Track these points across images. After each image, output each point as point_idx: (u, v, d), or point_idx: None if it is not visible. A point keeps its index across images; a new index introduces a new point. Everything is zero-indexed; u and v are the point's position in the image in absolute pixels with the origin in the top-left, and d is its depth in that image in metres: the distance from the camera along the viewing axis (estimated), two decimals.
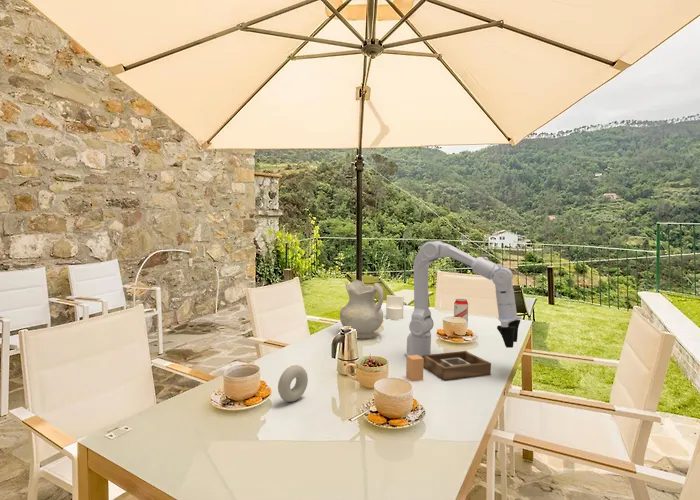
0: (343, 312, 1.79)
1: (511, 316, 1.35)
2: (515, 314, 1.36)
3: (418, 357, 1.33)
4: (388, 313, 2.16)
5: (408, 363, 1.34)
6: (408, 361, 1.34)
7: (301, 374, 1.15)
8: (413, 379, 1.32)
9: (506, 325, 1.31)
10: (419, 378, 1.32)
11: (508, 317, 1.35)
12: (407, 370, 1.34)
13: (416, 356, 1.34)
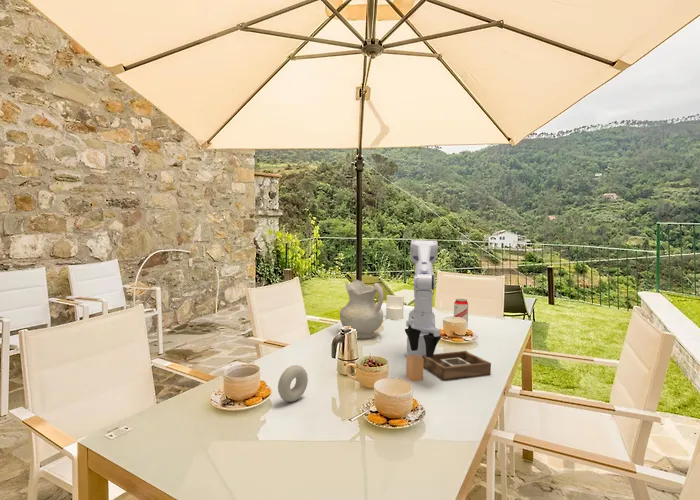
0: (343, 312, 1.79)
1: None
2: (414, 322, 1.31)
3: (418, 357, 1.33)
4: (388, 313, 2.16)
5: (407, 363, 1.34)
6: (408, 361, 1.34)
7: (301, 374, 1.15)
8: (413, 379, 1.32)
9: None
10: (419, 378, 1.32)
11: None
12: (407, 370, 1.34)
13: (416, 356, 1.34)
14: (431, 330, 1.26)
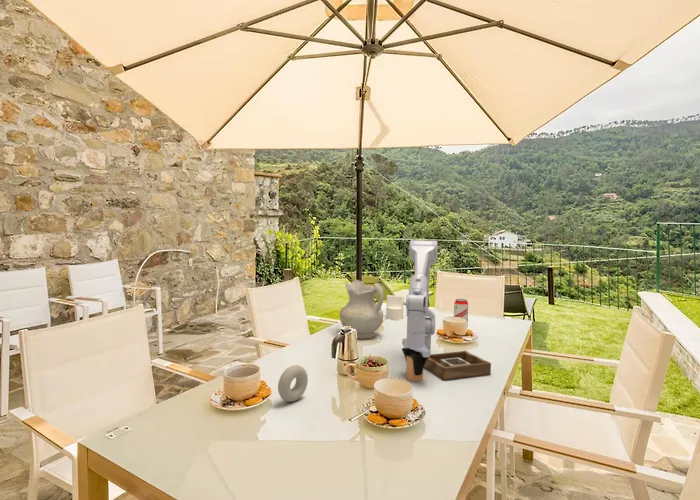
0: (343, 312, 1.79)
1: None
2: (406, 341, 1.33)
3: None
4: (388, 313, 2.16)
5: (408, 363, 1.34)
6: (408, 361, 1.34)
7: (301, 374, 1.15)
8: (413, 379, 1.32)
9: None
10: (419, 378, 1.32)
11: None
12: (407, 370, 1.34)
13: None
14: (420, 350, 1.28)
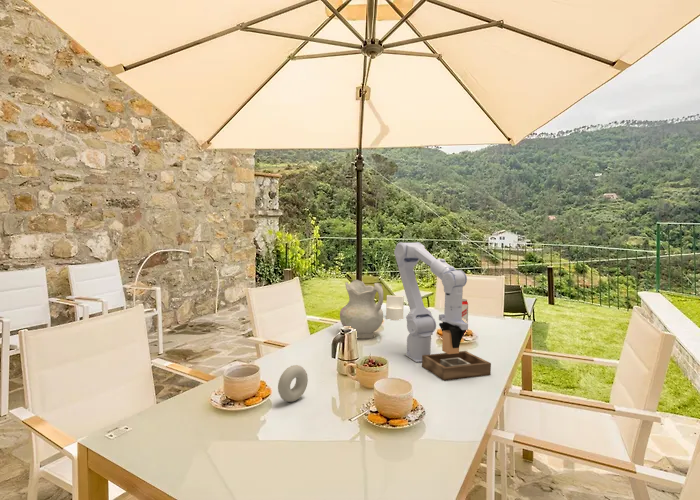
0: (343, 312, 1.79)
1: None
2: (444, 316, 1.40)
3: None
4: (388, 313, 2.16)
5: (444, 337, 1.40)
6: (444, 335, 1.40)
7: (301, 374, 1.15)
8: (450, 352, 1.38)
9: None
10: (455, 351, 1.39)
11: None
12: (443, 344, 1.40)
13: None
14: (459, 324, 1.34)
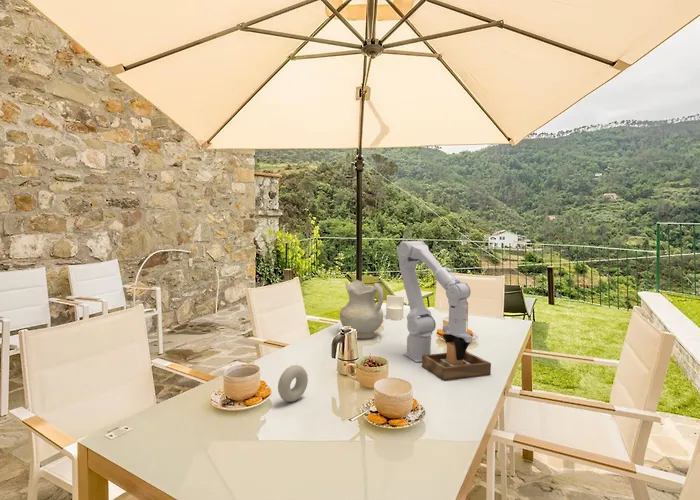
0: (343, 312, 1.79)
1: None
2: (448, 328, 1.41)
3: None
4: (388, 313, 2.16)
5: (448, 349, 1.41)
6: (449, 347, 1.41)
7: (301, 374, 1.15)
8: (454, 364, 1.39)
9: None
10: (459, 363, 1.40)
11: None
12: (448, 356, 1.42)
13: None
14: (463, 336, 1.35)
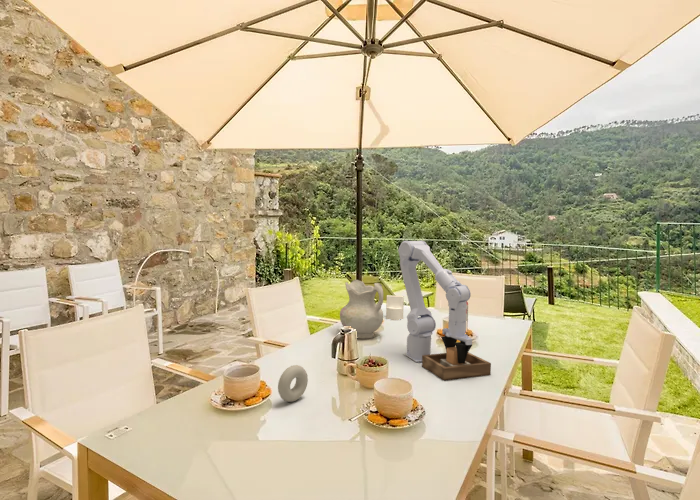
0: (343, 312, 1.79)
1: None
2: (448, 330, 1.41)
3: None
4: (388, 313, 2.16)
5: (448, 354, 1.41)
6: (448, 352, 1.41)
7: (301, 374, 1.15)
8: None
9: None
10: None
11: None
12: (447, 361, 1.42)
13: (456, 348, 1.42)
14: (463, 339, 1.35)
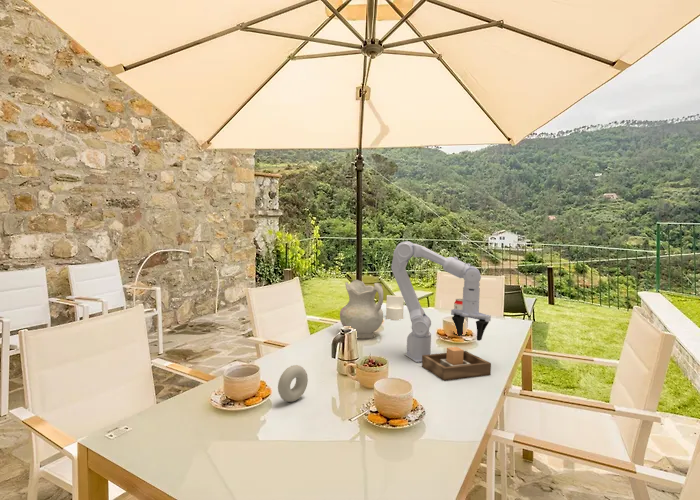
0: (343, 312, 1.79)
1: (462, 310, 1.49)
2: (464, 310, 1.47)
3: (458, 349, 1.41)
4: (388, 313, 2.16)
5: (448, 354, 1.41)
6: (448, 352, 1.41)
7: (301, 374, 1.15)
8: None
9: None
10: None
11: None
12: (447, 361, 1.42)
13: (456, 348, 1.42)
14: (483, 316, 1.44)
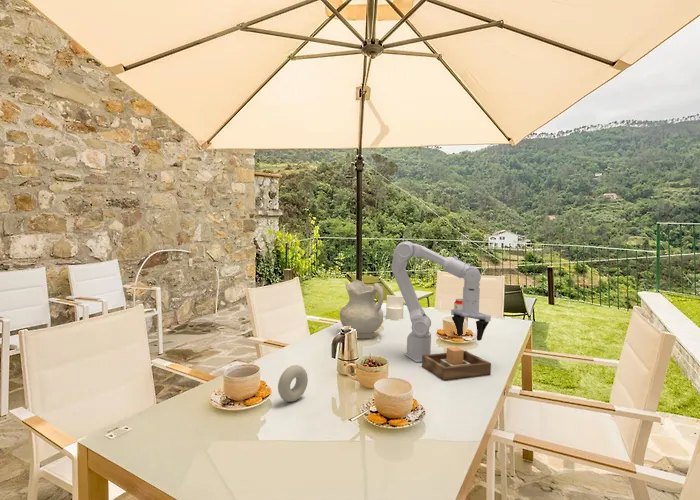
0: (343, 312, 1.79)
1: (462, 310, 1.49)
2: (464, 310, 1.47)
3: (458, 349, 1.41)
4: (388, 313, 2.16)
5: (448, 354, 1.41)
6: (448, 352, 1.41)
7: (301, 374, 1.15)
8: None
9: None
10: None
11: None
12: (447, 361, 1.42)
13: (456, 348, 1.42)
14: (483, 316, 1.44)
